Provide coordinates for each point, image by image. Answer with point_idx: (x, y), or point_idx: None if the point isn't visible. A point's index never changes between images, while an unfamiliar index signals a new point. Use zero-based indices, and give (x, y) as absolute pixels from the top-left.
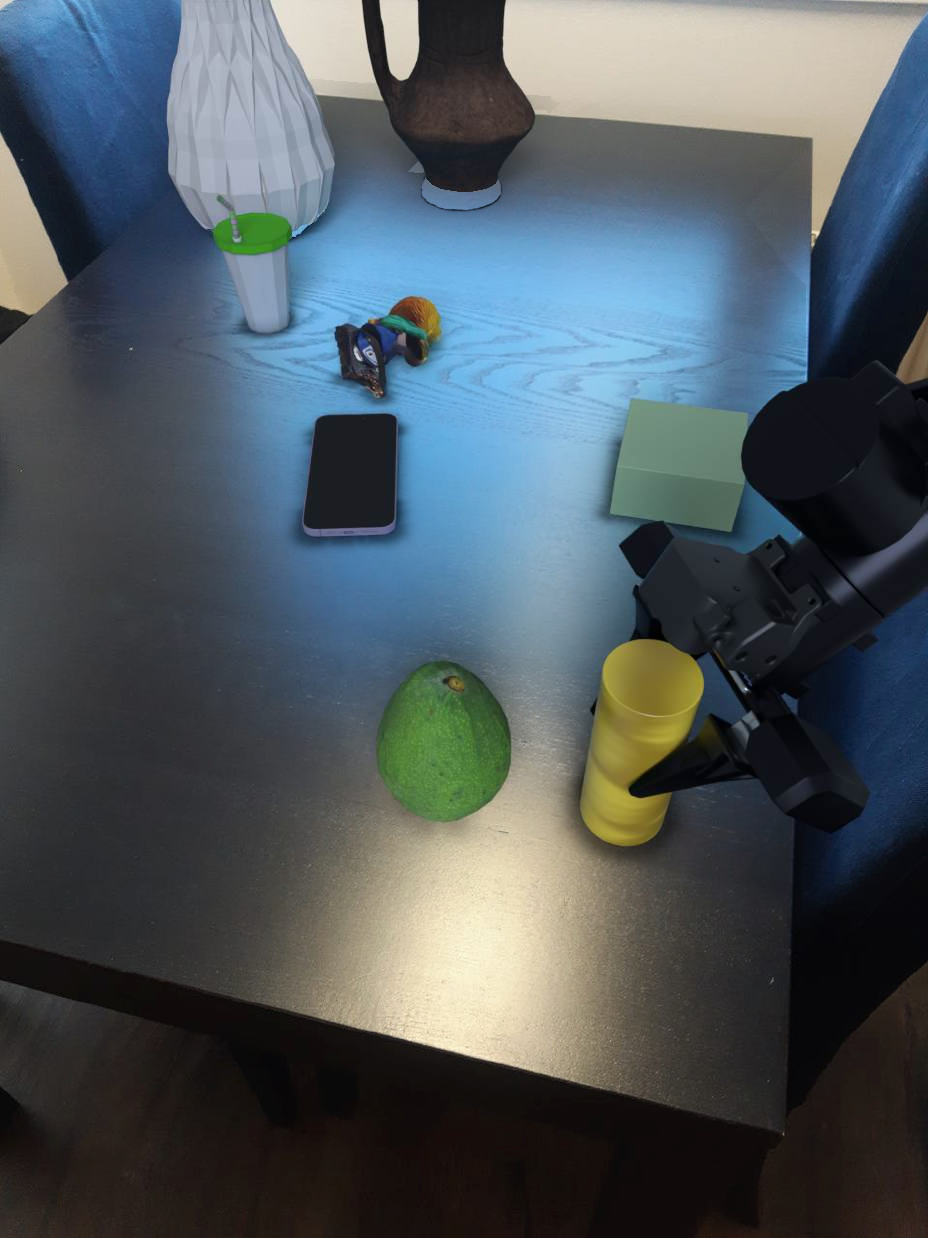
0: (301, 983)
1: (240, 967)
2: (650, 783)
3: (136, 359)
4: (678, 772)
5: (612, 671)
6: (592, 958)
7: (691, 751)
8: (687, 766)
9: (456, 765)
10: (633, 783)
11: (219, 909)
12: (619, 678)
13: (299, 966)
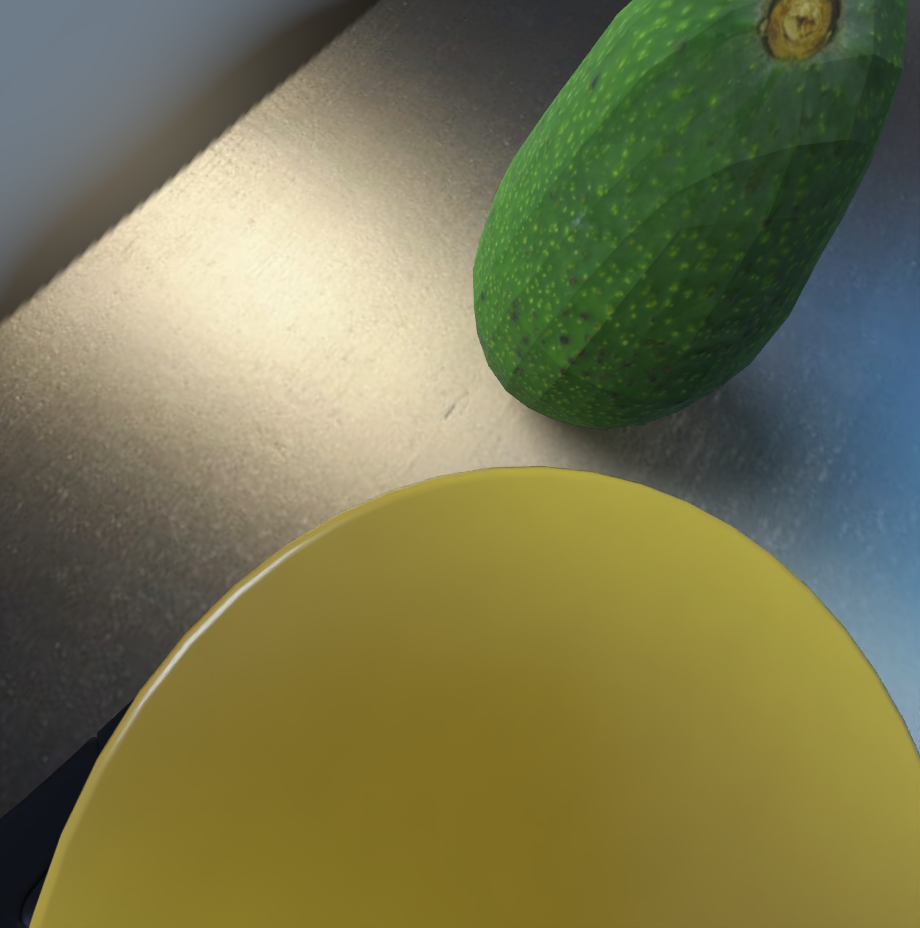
0: (342, 72)
1: (398, 25)
2: None
3: None
4: (89, 742)
5: (708, 594)
6: (162, 440)
7: (42, 882)
8: (33, 802)
9: (533, 148)
10: None
11: (486, 33)
12: (630, 614)
13: (366, 78)
